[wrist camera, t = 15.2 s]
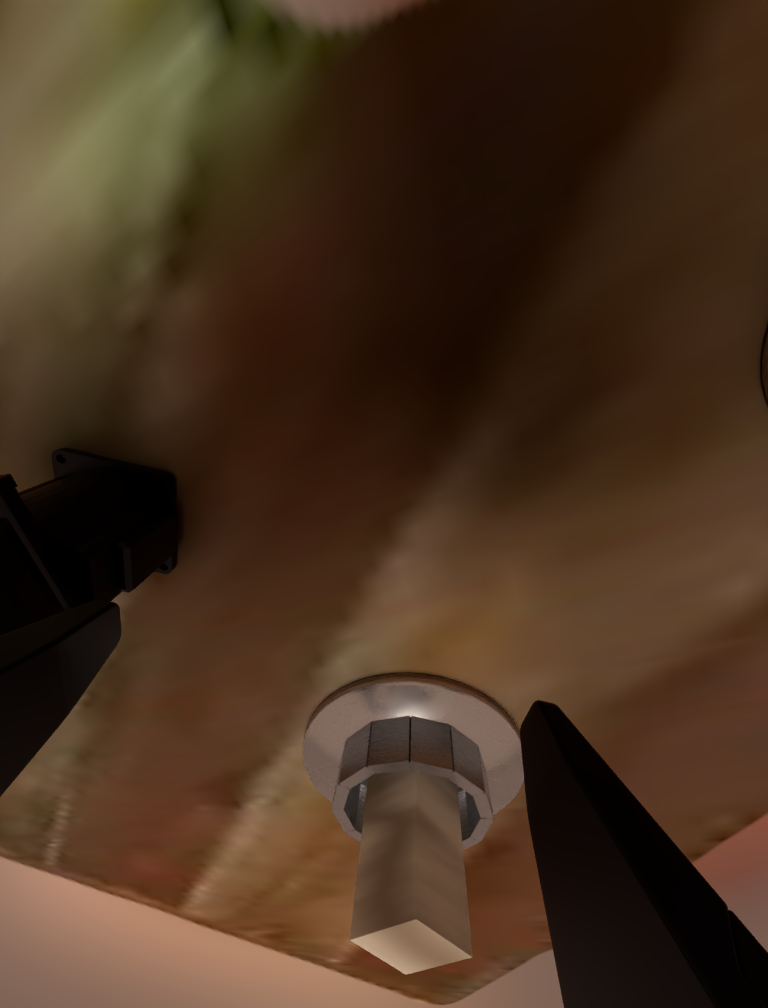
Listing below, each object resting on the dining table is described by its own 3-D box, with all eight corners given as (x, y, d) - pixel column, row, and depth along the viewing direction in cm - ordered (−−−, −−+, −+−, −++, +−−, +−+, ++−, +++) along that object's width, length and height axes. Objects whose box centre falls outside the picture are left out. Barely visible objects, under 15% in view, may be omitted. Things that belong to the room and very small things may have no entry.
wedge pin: (408, 793, 29) (405, 974, 21) (369, 762, 28) (350, 940, 20) (455, 772, 28) (472, 957, 19) (416, 738, 26) (416, 919, 18)
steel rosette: (294, 792, 32) (278, 851, 28) (323, 650, 25) (307, 703, 22) (481, 834, 32) (490, 898, 28) (558, 703, 26) (582, 764, 22)
